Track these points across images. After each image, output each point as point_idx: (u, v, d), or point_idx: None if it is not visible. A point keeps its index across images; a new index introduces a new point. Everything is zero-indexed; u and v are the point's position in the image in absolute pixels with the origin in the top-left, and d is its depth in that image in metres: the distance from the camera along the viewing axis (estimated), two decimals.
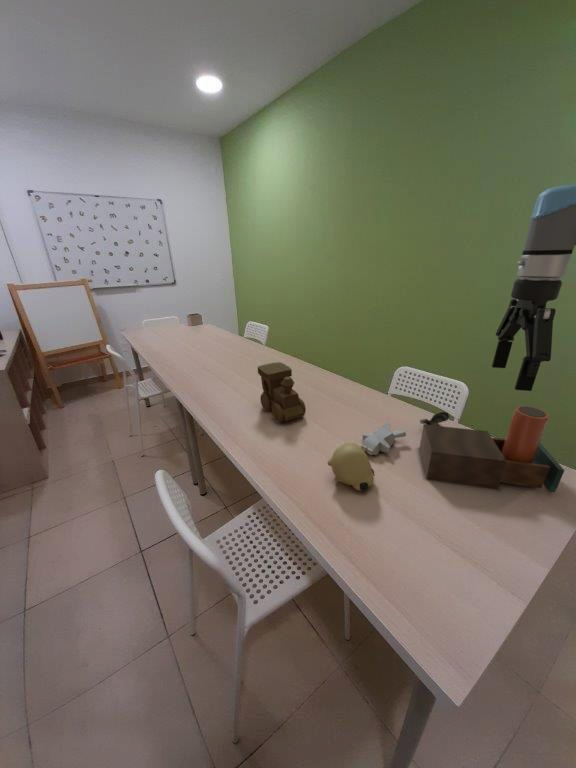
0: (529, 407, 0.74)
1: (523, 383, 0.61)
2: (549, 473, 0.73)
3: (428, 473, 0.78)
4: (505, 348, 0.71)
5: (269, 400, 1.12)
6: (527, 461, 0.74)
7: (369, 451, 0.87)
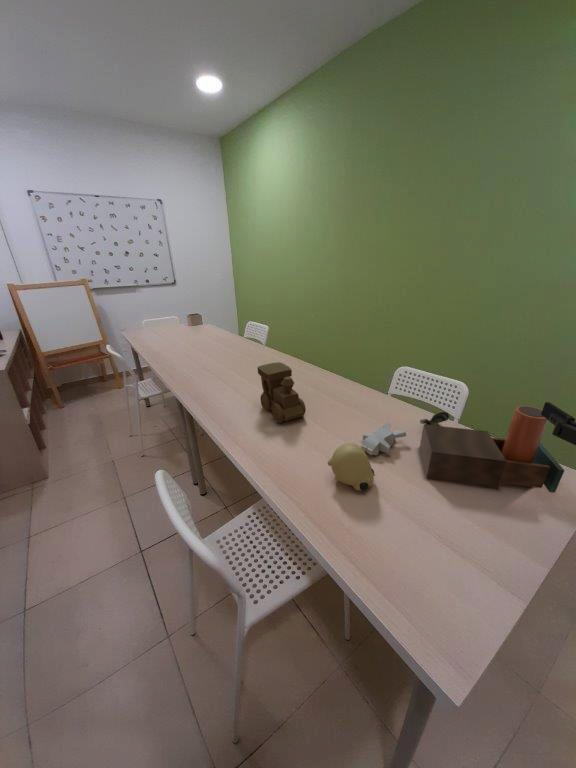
0: (529, 407, 0.74)
1: None
2: (549, 473, 0.73)
3: (428, 473, 0.78)
4: None
5: (269, 400, 1.12)
6: (527, 461, 0.74)
7: (369, 451, 0.87)
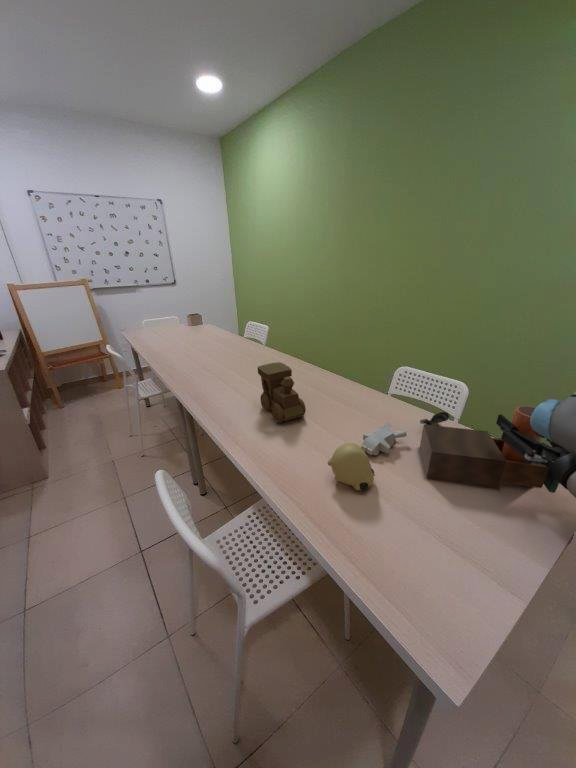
0: (529, 407, 0.74)
1: None
2: (549, 473, 0.73)
3: (428, 473, 0.78)
4: None
5: (269, 400, 1.12)
6: None
7: (369, 451, 0.87)
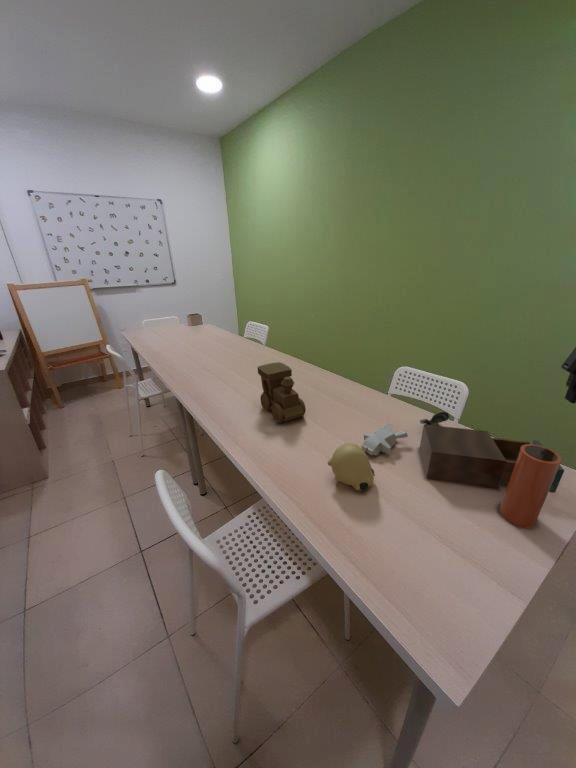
0: (537, 446, 0.63)
1: (569, 393, 0.69)
2: None
3: (428, 473, 0.78)
4: None
5: (269, 400, 1.12)
6: (534, 510, 0.62)
7: (369, 451, 0.87)
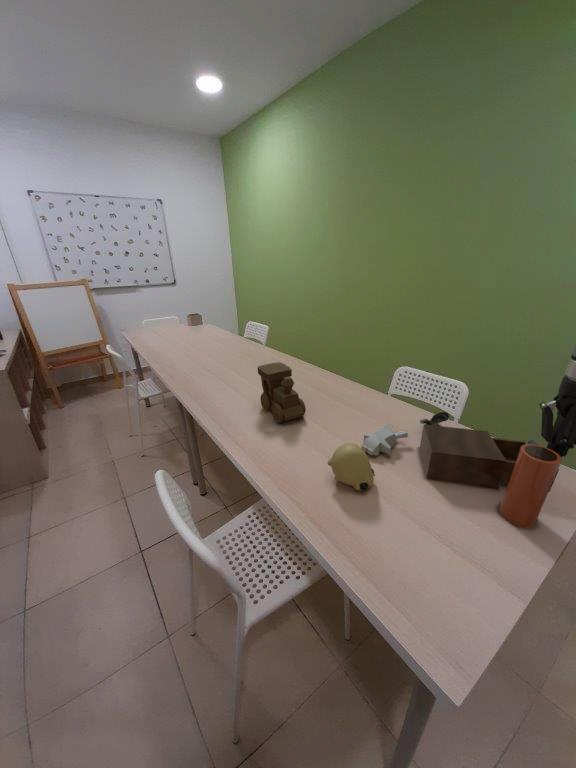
0: (537, 446, 0.63)
1: None
2: None
3: (428, 473, 0.78)
4: None
5: (269, 400, 1.12)
6: (534, 510, 0.62)
7: (369, 451, 0.87)
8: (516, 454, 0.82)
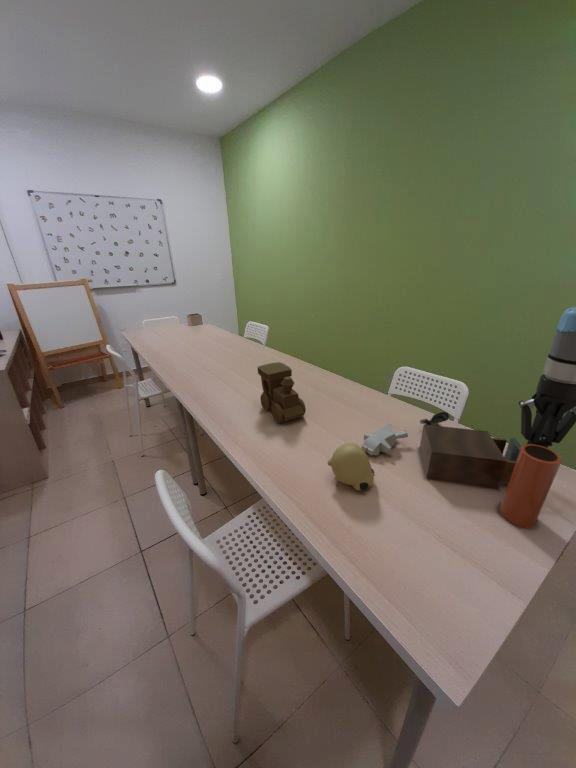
0: (537, 446, 0.63)
1: None
2: None
3: (428, 473, 0.78)
4: None
5: (269, 400, 1.12)
6: (534, 510, 0.62)
7: (369, 451, 0.87)
8: None
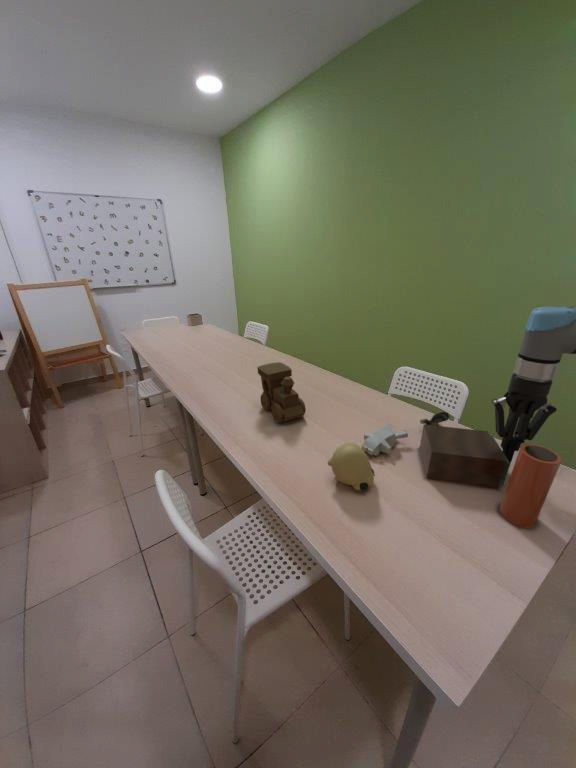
0: (537, 446, 0.63)
1: None
2: None
3: (428, 473, 0.78)
4: None
5: (269, 400, 1.12)
6: (534, 510, 0.62)
7: (369, 451, 0.87)
8: None
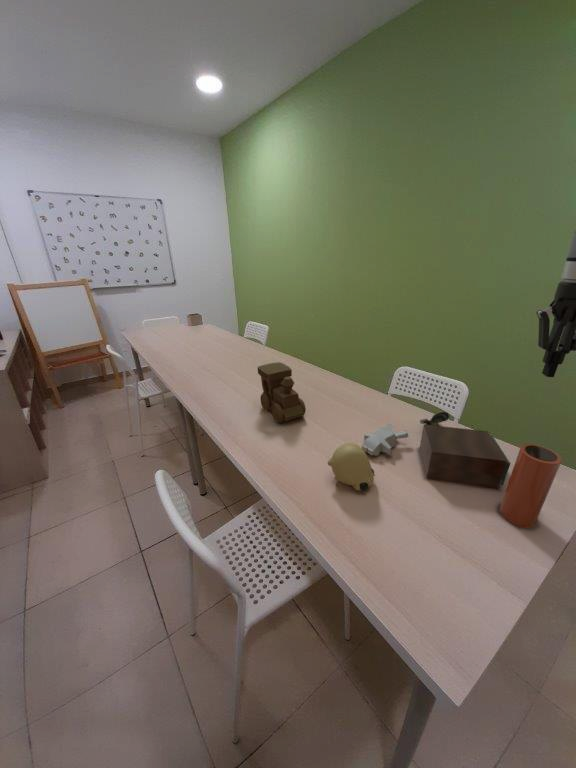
0: (537, 446, 0.63)
1: (545, 369, 0.79)
2: None
3: (428, 473, 0.78)
4: None
5: (269, 400, 1.12)
6: (534, 510, 0.62)
7: (369, 451, 0.87)
8: None
